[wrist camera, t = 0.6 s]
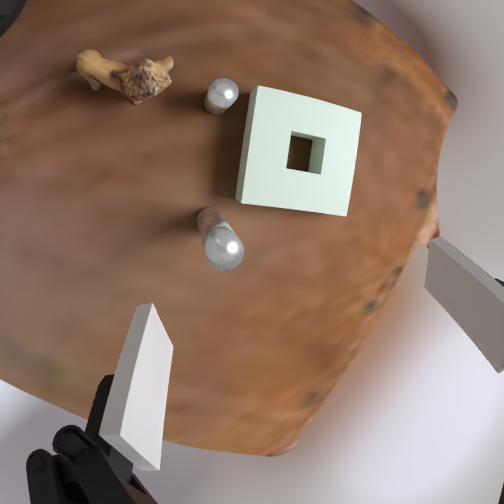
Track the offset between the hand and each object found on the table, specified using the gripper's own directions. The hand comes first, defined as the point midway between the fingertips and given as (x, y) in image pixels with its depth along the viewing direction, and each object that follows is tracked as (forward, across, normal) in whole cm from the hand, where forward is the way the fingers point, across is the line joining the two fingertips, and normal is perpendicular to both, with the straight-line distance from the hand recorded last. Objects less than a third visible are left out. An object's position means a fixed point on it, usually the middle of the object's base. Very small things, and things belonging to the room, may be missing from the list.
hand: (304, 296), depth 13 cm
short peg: (+28, -2, +10) cm, 30 cm away
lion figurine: (+27, -13, +16) cm, 34 cm away
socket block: (+28, +6, +1) cm, 29 cm away
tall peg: (+26, -6, -5) cm, 27 cm away
